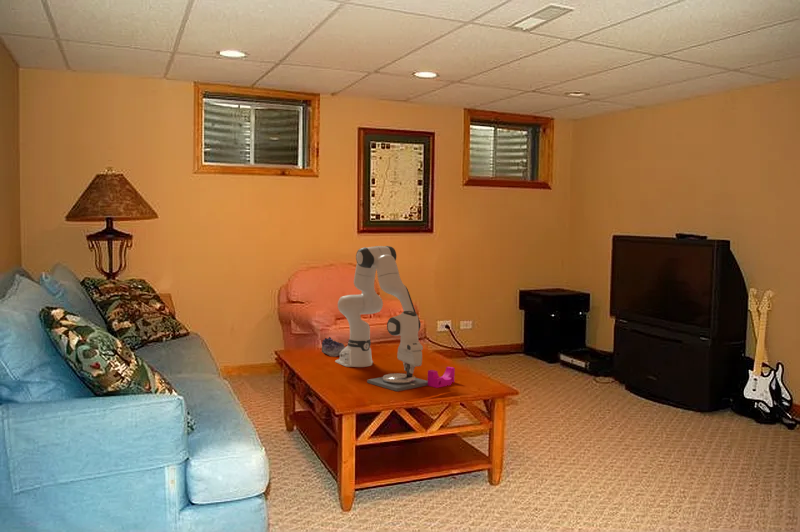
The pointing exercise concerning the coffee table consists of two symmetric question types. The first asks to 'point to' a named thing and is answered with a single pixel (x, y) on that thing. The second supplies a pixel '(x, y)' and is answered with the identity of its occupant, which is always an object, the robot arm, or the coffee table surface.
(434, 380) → the toy block
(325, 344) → the geode
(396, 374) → the dial
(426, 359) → the coffee table surface
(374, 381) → the dial plate
